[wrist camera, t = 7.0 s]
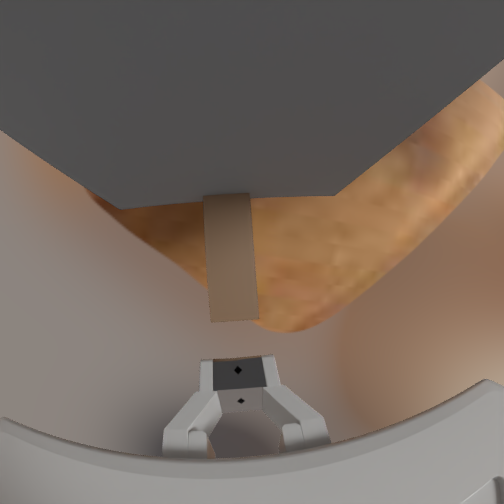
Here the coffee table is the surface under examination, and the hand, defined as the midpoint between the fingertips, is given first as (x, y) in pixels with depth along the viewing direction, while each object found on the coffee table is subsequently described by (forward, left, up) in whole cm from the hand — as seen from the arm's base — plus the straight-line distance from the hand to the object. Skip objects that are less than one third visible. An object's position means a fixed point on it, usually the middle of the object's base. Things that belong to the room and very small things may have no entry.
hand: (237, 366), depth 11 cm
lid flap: (-9, 0, -3) cm, 10 cm away
